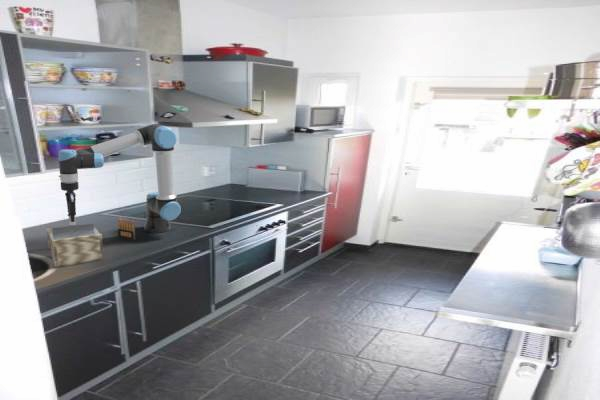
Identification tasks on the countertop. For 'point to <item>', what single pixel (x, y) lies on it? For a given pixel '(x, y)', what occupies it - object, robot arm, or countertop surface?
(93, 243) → the housing
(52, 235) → the lid
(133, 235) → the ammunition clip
